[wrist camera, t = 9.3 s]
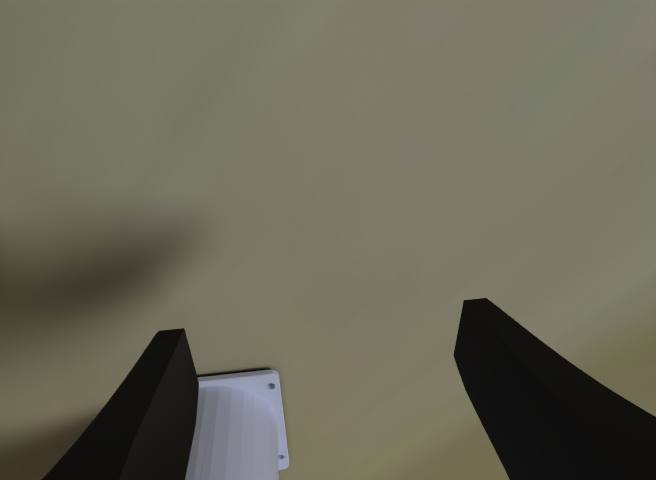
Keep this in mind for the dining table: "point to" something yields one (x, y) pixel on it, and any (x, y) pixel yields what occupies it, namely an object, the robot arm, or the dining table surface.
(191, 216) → the dining table surface
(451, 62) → the dining table surface
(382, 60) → the dining table surface
